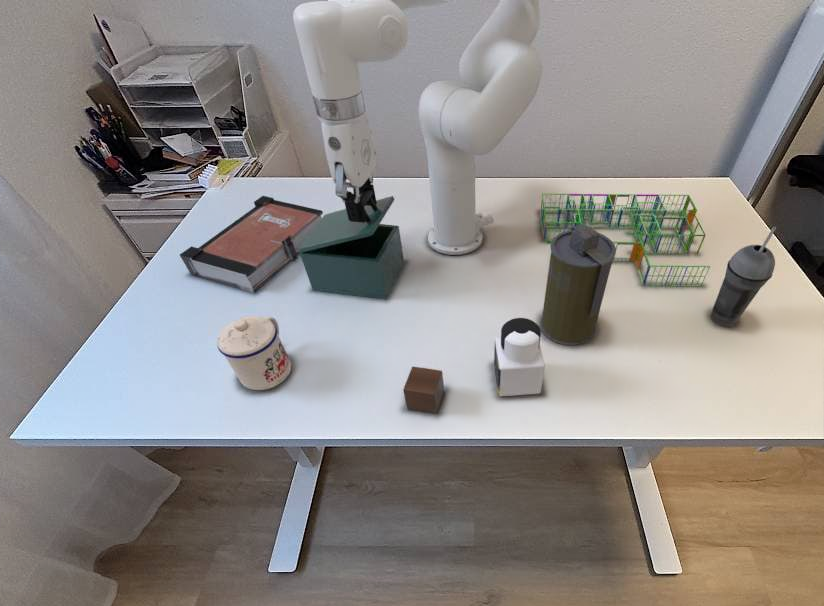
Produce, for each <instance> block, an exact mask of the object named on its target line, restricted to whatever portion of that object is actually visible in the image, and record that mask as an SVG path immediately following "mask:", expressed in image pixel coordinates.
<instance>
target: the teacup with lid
mask: <svg viewBox="0 0 824 606" xmlns="http://www.w3.org/2000/svg"><path fill="white" fill-rule="evenodd" d="M216 344H217V345H216V346H217V349H218V351H219V352H220V354H222V355H223V356H224V357H225V359H226V361H227V362H228V364H229V366H230V367H231V369H232V370H233V371H234V374H235V375H236V376H237V378H238V380H239V382H240V383H241V384H242V386H243V387H245V388H247V389H249V390H253V391H264V390H269V389H272V388H275V387H276V386H278V385H280V384H281V383H282V382H284V381H285V380H286V379H287V378H288V376H289V375H290V373H291V370H292V362H291V360H290V358H289V355H288V353H287V351H286V349H285V347H284V345H283V342H282V341H281V338H280V327H279V323H278V321H277V319H276V318H275V317H273V316H266V317H263V316H258V315H249V316H244V317H240V318H238V319H235V320H233V321H231V322H229V323H228V324H227V325H225V326H224V327H223V328H222V329H221V331H220V332H219V334H218V335H217V338H216Z"/></svg>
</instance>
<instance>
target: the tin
mask: <svg viewBox="0 0 824 606" xmlns="http://www.w3.org/2000/svg"><path fill="white" fill-rule="evenodd" d="M299 256H300V259H301V261H302V264H303V267H304V270H305V272H306V275H307V278H308V281H309V283H310V286H311V289H312V291H314V292H315V291H316V292H324V293H330V294H339V295H347V296H356V297H364V298H372V299H380V300H387V298H388V296H389V295H390V292H391V290H392V288H393V286H394V285H395V282H396V280H397V278H398V276H399V274H400V273H401V270H402V268H403V266H404V264H405V258H404V252H403V244H402V238H401V232H400V226H399V225H393V224H383V223H380V224H379V226H378V227H377V229H376V230H375V232H374V234H373V235H372V236H367V237H363V238H359V239H355V240H351V241H347V242H343V243H339V244H334V245H330V246H326V247H322V248H318V249H314V250H310V251H305V252H301V253H299Z"/></svg>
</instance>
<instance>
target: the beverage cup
mask: <svg viewBox="0 0 824 606" xmlns="http://www.w3.org/2000/svg"><path fill="white" fill-rule="evenodd" d="M776 230H777V227H776V226H772V228H771V229H770V231H769V233H768V234H767V236H766V238H765V239H764V241H763V243H762V245H761V244H750V245H746V246H744V247H742V248H740V249H738V250H737V251H736V252H735V253H734V254H732V256H731V258H730V259H729V260H728V261H727V264H726V269H725V275H724V278H723V280H722V283H721V286H720V288H719V291H718V294H717V296H716V299H715V302H714V305H713V307H712V311H711V313H710V320H711V321H712V322H713V323H714V324H716V325H718V326H719V327H725V328H730V327H733V326H734V325H735V324H736V322H737V321H738V320H739V319H740V318H741V316H742V315H743V314H744V312H745V311H746V310H747V308H748V307H749V305H751V302H752V301H753V300H754V298H755V297H756V296H757V294H758V293H759V291H760V290H761V289H762V288H763V287H764V286H765V284H766V283H767V282H768V281H769V280H770V279H771V278H772V277H773V274H774V272H775V271H774V270H775V266H776V258H775V256H774V253H773V252H772V251H771V250H770V249H769V248H768V247H767V245H768V243H769V241H770V239H771V238H772V236H773V235H774V233H775V231H776Z"/></svg>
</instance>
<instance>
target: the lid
mask: <svg viewBox="0 0 824 606" xmlns="http://www.w3.org/2000/svg"><path fill="white" fill-rule="evenodd" d="M372 195H373V192H372V190H371V189H369V188H364V190H363V191H362V192H361V194H360V195H359V196H360V200H361V201H362V202H363V207H364V211H365V216H366V221H365V222H364V223H362V222H352V221H349V219H348V215H347V211H346V208H344V209H340V210H337V211H333V212H329V213H326V214H323V216H322V217H321V218H322V219H321V220H320V221H319V223H318V224H317V225H316V227H315V228H314V229H313V230H312V232H311V233H310V234H309V236H308V237H307V238H306V239H305V241H304V242H303V243H302V244H301V246H300V247H299V248H298V251H299V252H300V253H301V252H305V251H310V250H314V249H318V248H322V247H326V246H330V245H334V244H339V243H343V242H347V241H351V240H355V239H359V238H363V237H367V236H372V235H373V234H374V232H375V230H376V229H377V227H378V226H379V224H381V222H382V221H383V220H384V218H385V216H386V214H387V213H388V211H389V210H390V208H391V207H392V205H393V204H394V201H395V198H394V195H392V196H388V197H384V198H381V199H376V202H377V204H375V202H374V200H373V198H372ZM368 201H369V203H370V205H371V206H367V205H366V204H367V202H368ZM300 253H299V254H300Z"/></svg>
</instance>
